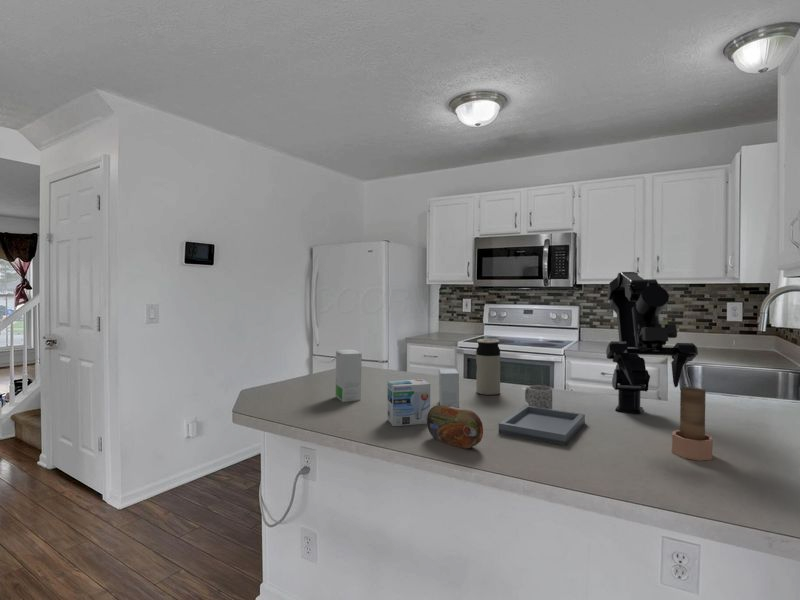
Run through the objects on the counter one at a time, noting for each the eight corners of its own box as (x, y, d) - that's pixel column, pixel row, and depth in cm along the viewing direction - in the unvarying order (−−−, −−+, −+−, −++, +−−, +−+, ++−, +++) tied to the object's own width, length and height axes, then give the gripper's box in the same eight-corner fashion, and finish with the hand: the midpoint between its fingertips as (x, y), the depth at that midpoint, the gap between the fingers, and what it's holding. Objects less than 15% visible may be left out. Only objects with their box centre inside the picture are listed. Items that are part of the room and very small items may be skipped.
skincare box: (335, 396, 149) (334, 350, 149) (354, 394, 152) (353, 348, 151) (342, 402, 141) (342, 353, 141) (362, 400, 144) (362, 352, 144)
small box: (459, 408, 134) (459, 373, 134) (440, 408, 134) (440, 373, 134) (456, 401, 142) (456, 368, 142) (438, 401, 142) (438, 368, 142)
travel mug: (503, 391, 155) (503, 339, 154) (495, 396, 148) (495, 342, 147) (481, 389, 159) (481, 338, 158) (472, 393, 152) (472, 340, 152)
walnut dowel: (680, 448, 100) (681, 386, 100) (704, 452, 98) (705, 388, 97) (679, 454, 96) (680, 390, 96) (704, 459, 94) (705, 393, 93)
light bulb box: (392, 427, 117) (392, 386, 116) (386, 419, 123) (386, 380, 123) (431, 423, 120) (431, 383, 119) (423, 416, 126) (423, 378, 126)
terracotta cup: (673, 445, 102) (673, 428, 102) (712, 451, 98) (712, 433, 98) (671, 455, 96) (671, 437, 96) (712, 462, 92) (712, 443, 92)
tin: (426, 437, 109) (425, 402, 109) (434, 434, 111) (434, 400, 111) (477, 453, 98) (476, 415, 98) (485, 449, 100) (485, 412, 100)
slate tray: (525, 413, 128) (525, 405, 128) (584, 423, 119) (584, 413, 119) (498, 433, 111) (498, 423, 111) (565, 445, 102) (565, 435, 102)
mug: (557, 412, 130) (557, 389, 129) (538, 414, 127) (538, 391, 127) (534, 403, 139) (534, 382, 139) (516, 406, 136) (516, 384, 136)
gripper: (610, 310, 107) (616, 373, 101) (700, 311, 102) (712, 377, 96) (604, 328, 117) (608, 387, 110) (685, 330, 112) (695, 391, 105)
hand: (654, 385), depth 105 cm, fingers open, 9 cm apart
